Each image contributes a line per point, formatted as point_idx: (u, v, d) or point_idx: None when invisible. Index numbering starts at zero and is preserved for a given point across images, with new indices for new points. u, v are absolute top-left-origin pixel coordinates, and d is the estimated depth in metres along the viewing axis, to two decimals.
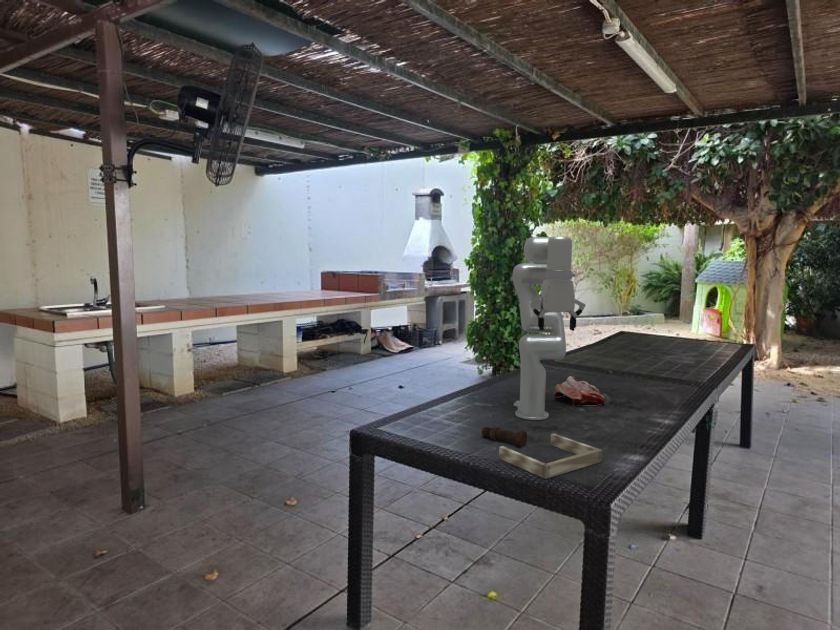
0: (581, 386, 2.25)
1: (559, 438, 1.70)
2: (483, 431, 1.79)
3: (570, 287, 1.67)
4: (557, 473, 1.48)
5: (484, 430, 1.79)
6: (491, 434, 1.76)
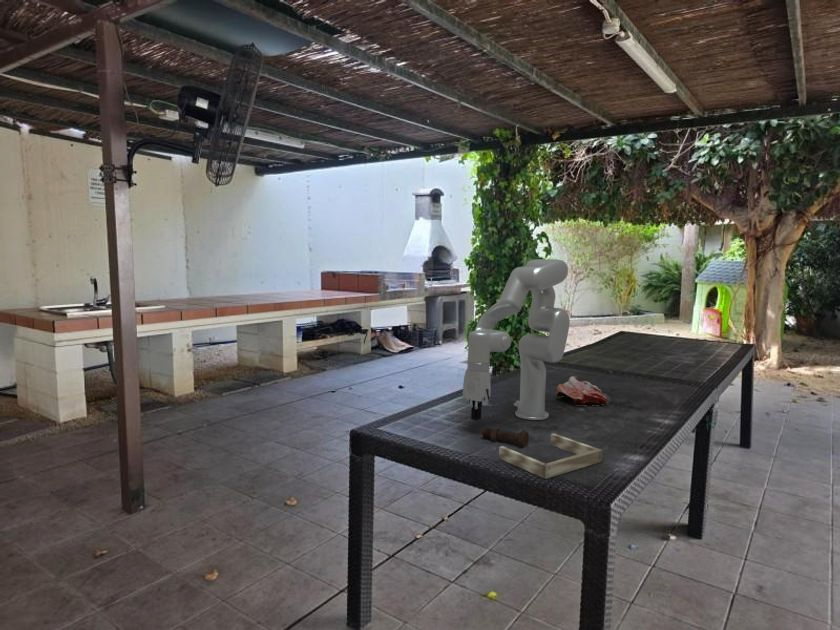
0: (583, 386, 2.25)
1: (559, 438, 1.70)
2: (484, 432, 1.78)
3: None
4: (557, 473, 1.48)
5: (485, 431, 1.78)
6: (492, 435, 1.75)
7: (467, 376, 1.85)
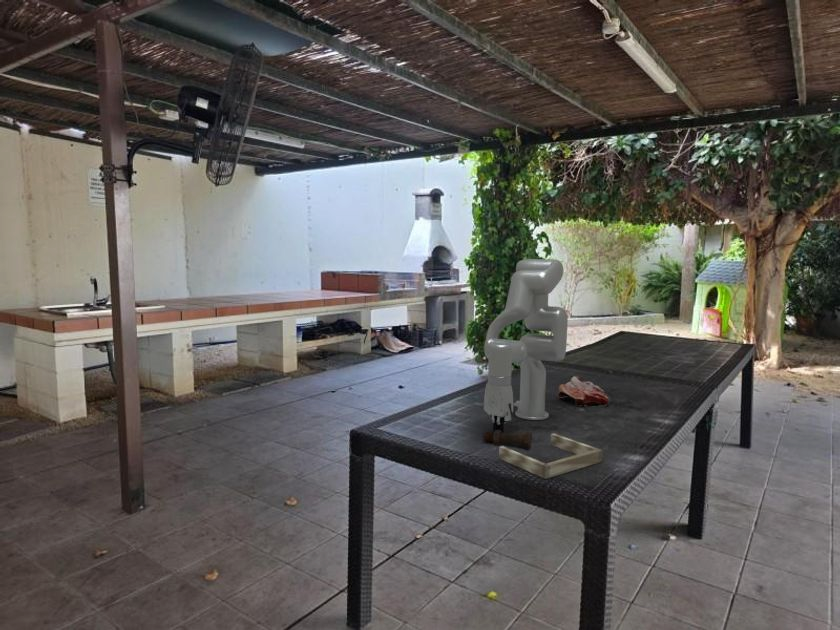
0: (585, 386, 2.25)
1: (559, 438, 1.70)
2: (485, 436, 1.74)
3: None
4: (557, 473, 1.48)
5: (486, 435, 1.74)
6: (496, 438, 1.71)
7: (488, 390, 1.77)
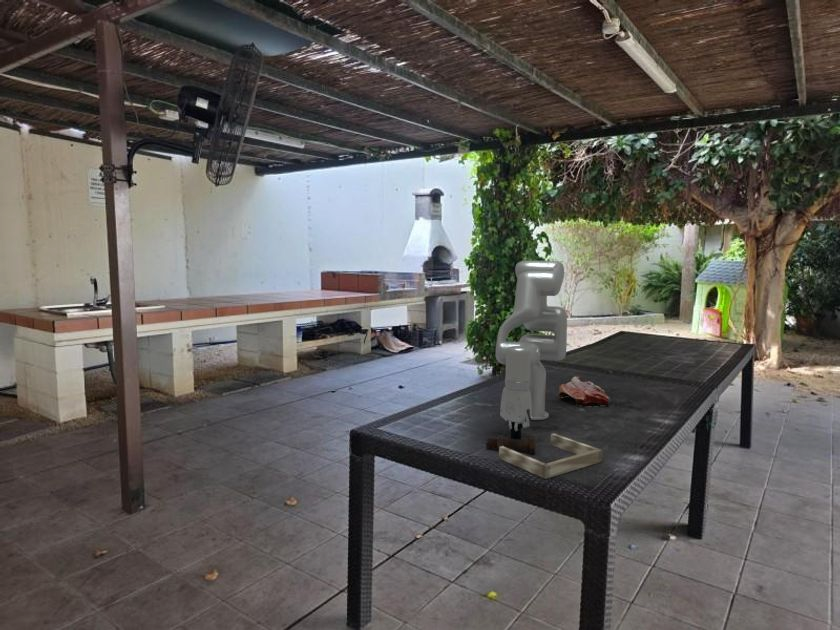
0: (585, 386, 2.25)
1: (559, 438, 1.70)
2: (488, 443, 1.67)
3: None
4: (557, 473, 1.48)
5: (489, 441, 1.67)
6: (500, 445, 1.65)
7: (505, 395, 1.70)
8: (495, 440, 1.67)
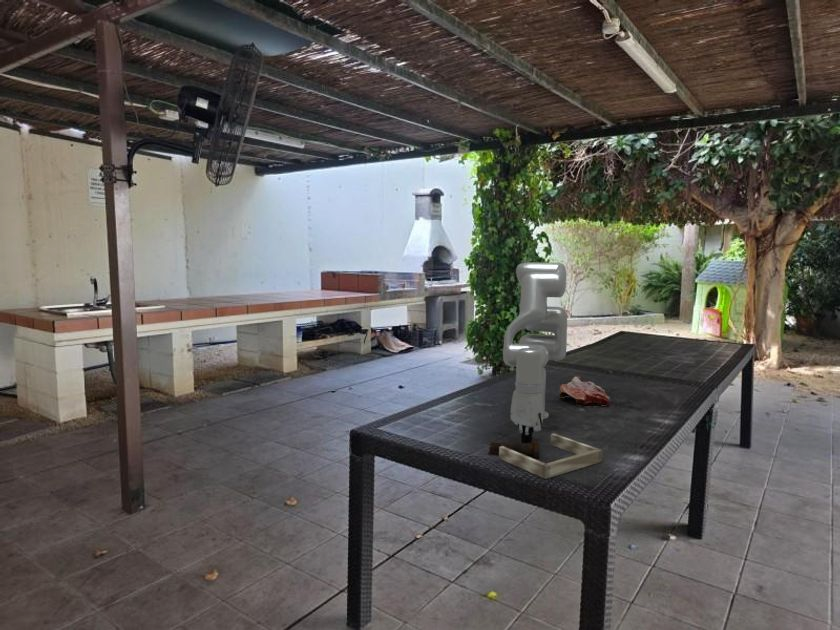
0: (586, 386, 2.24)
1: (559, 438, 1.70)
2: (491, 447, 1.63)
3: None
4: (557, 473, 1.48)
5: (492, 446, 1.63)
6: None
7: (516, 398, 1.66)
8: (498, 444, 1.63)
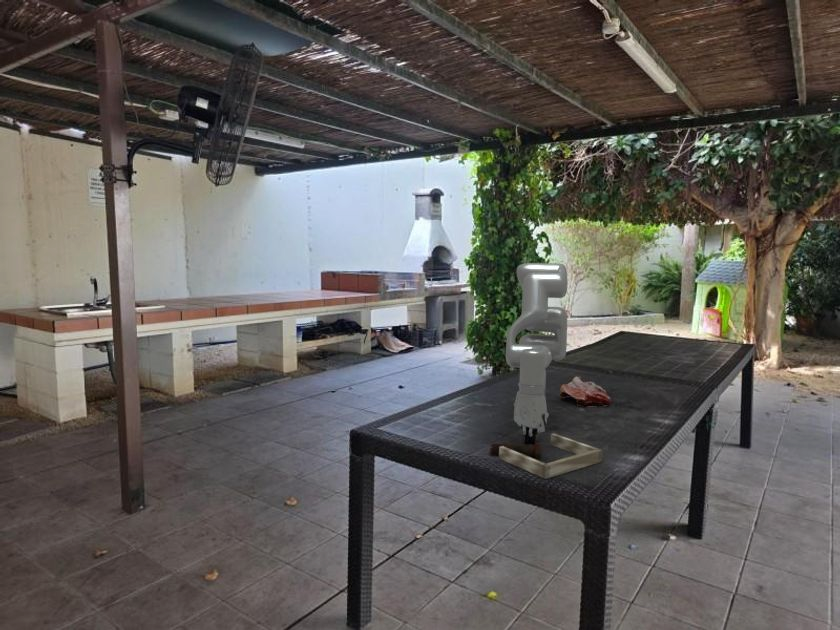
0: (586, 387, 2.24)
1: (559, 438, 1.70)
2: (492, 448, 1.62)
3: None
4: (557, 473, 1.48)
5: (493, 447, 1.62)
6: None
7: (519, 399, 1.65)
8: (499, 445, 1.62)
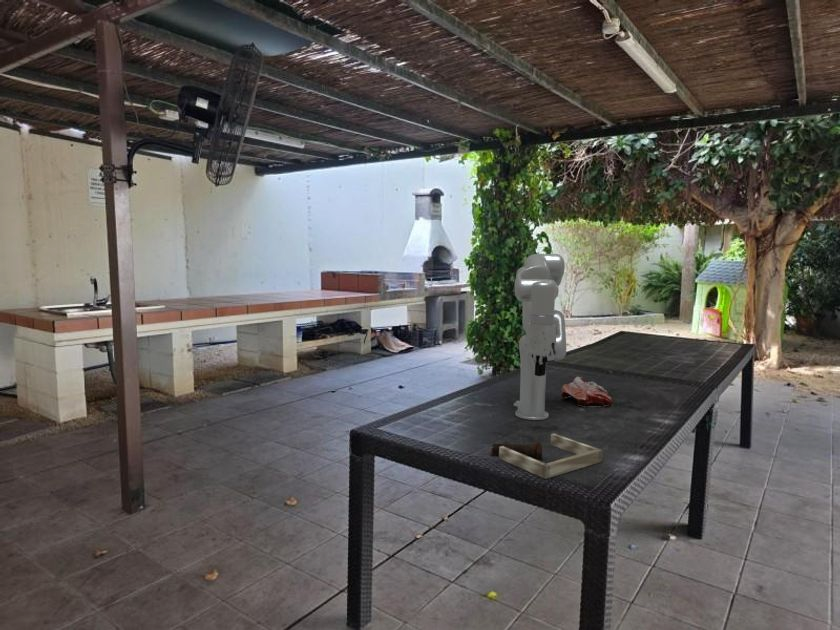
0: (587, 387, 2.24)
1: (559, 438, 1.70)
2: (494, 448, 1.62)
3: None
4: (557, 473, 1.48)
5: (495, 447, 1.62)
6: None
7: (530, 330, 1.74)
8: (501, 445, 1.62)
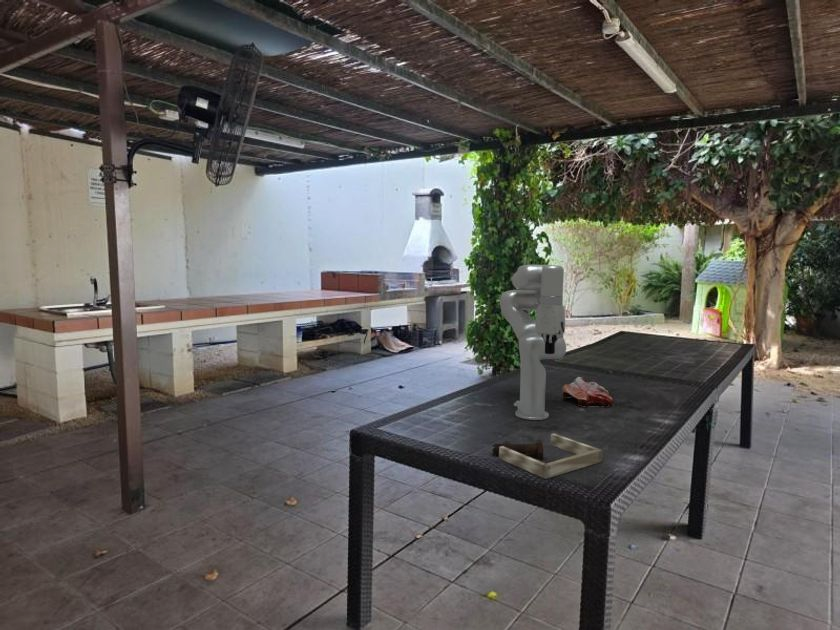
0: (588, 387, 2.24)
1: (559, 438, 1.70)
2: (495, 448, 1.62)
3: None
4: (557, 473, 1.48)
5: (496, 447, 1.62)
6: None
7: (540, 311, 1.86)
8: (502, 445, 1.62)
